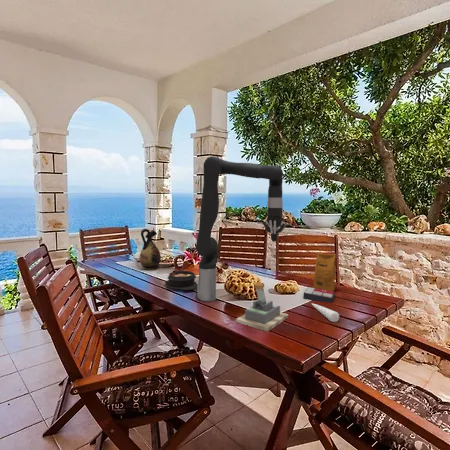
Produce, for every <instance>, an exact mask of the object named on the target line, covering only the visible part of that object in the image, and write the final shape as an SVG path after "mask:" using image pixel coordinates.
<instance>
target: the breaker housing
mask: <svg viewBox="0 0 450 450" xmlns="http://www.w3.org/2000/svg"><path fill="white" fill-rule="evenodd" d="M273 302H274V301H273V300H270V301H268V302H266V304H264V307H260V306H258V303H259V300H258V299H256V300H255V301H253V302H252V306H250V307H248V308H246V309H244V314H245V319H247V320H251V321H254V322H258V323H261V324H266V323H268V322H269V321H271V320H272V319H274V318H275V317H277V316H278V315H280V312H281V306H280V305H276V304H274V303H273Z"/></svg>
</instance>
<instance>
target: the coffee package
mask: <svg viewBox="0 0 450 450" xmlns="http://www.w3.org/2000/svg"><path fill="white" fill-rule="evenodd" d="M336 255H337V254H336V253H330V254H328V253H322V252H317V253H316V258H315V259H316V261H315V267H314V277H313V287H312V288H315V289H316V288H317V289H322V290H328V291H333V292H335V289H336V286H335V277H336Z"/></svg>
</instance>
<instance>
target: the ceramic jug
mask: <svg viewBox="0 0 450 450" xmlns="http://www.w3.org/2000/svg"><path fill="white" fill-rule="evenodd" d="M144 233H146V235H145V236H144ZM157 235H158V233H157V232H156V231H155V230H149V229H148V228H143V229H141V232H140V236H141V239H142V242H143V247H142V248H141V250H140V253H139V263H140V264H141V266H142V267H143V270H148V271H153V270H157V269H158V267H159V265H160V264H161V261H162V256H161V252H160V249H159V248H158V247H157V245H156V244H155V242H153V237H155V236H157Z"/></svg>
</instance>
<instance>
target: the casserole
mask: <svg viewBox="0 0 450 450" xmlns="http://www.w3.org/2000/svg"><path fill="white" fill-rule="evenodd" d="M196 278H197V276H196V275H195V273H194V272H193V271H190V270H176V271H172V272H170V273H169V275H168V276H167V279H168V280H165V281H164V283H165V286H166V287H168V288H170V289H174V290H178V291H191V290H195V289H196V290H197V282H198V281H196V280H195V279H196Z"/></svg>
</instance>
